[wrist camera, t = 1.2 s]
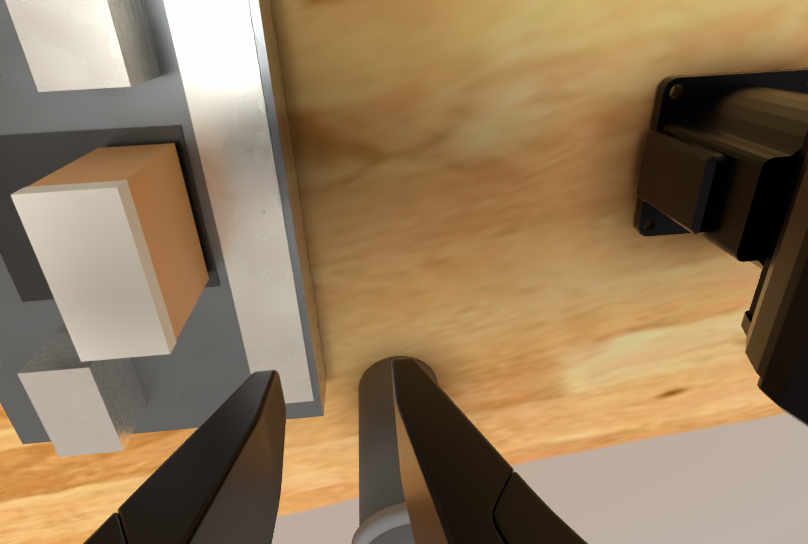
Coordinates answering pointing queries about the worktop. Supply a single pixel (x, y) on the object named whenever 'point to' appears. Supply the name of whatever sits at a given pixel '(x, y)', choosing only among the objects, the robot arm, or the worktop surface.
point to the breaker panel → (208, 195)
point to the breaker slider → (117, 249)
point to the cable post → (381, 461)
